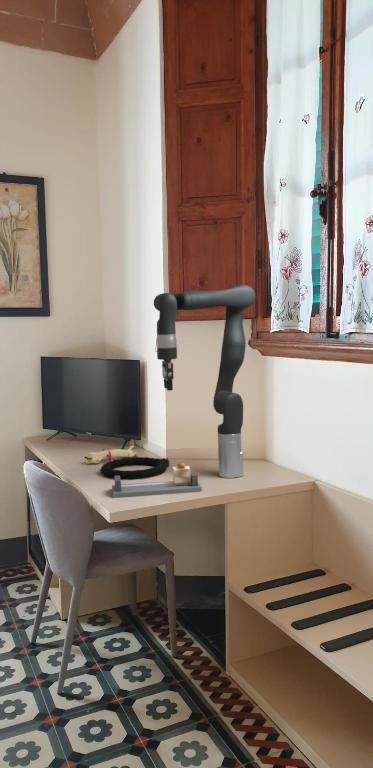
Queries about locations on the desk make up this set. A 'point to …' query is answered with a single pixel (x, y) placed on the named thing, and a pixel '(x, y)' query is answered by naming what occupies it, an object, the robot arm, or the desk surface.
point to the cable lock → (158, 464)
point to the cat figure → (110, 454)
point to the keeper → (181, 473)
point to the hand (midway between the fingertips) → (168, 389)
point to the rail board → (155, 487)
